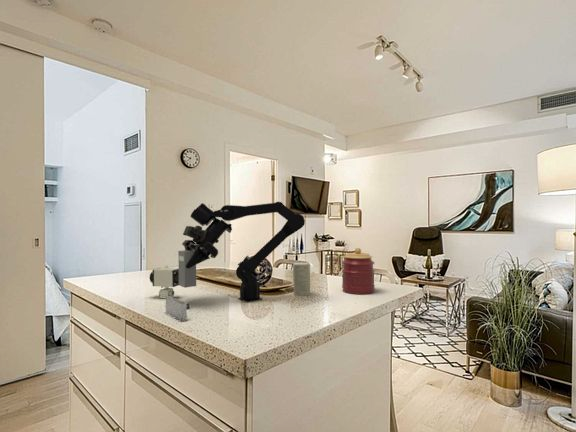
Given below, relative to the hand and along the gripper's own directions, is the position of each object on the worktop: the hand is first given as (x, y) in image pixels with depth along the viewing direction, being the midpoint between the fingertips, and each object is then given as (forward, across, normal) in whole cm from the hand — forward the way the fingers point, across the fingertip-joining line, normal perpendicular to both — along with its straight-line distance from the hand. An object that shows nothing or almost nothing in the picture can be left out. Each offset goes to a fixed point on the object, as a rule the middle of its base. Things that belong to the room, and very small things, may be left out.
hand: (183, 266), depth 113 cm
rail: (+14, +10, +5) cm, 18 cm away
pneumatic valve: (+10, -17, +10) cm, 21 cm away
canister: (-35, +24, +55) cm, 69 cm away
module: (+4, 0, +6) cm, 7 cm away
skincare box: (-20, +13, +40) cm, 46 cm away
